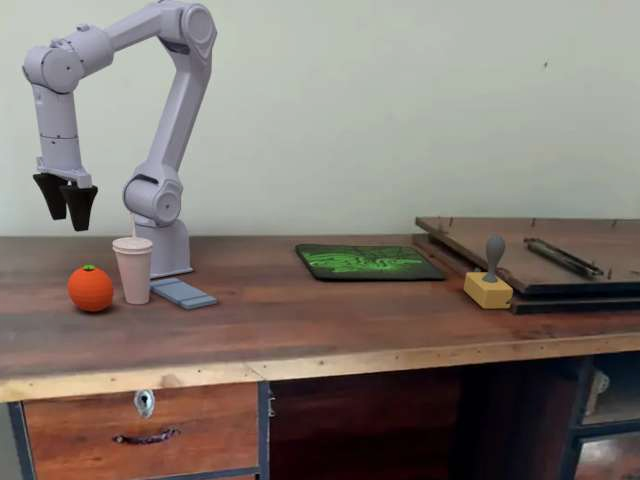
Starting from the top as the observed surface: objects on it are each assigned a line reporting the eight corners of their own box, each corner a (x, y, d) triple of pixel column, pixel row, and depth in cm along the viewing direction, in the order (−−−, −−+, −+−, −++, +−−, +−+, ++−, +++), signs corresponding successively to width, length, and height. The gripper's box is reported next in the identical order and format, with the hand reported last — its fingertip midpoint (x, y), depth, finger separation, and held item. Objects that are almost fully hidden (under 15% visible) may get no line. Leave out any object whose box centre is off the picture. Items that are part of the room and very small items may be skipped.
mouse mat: (412, 248, 172) (413, 243, 171) (449, 280, 154) (450, 275, 154) (292, 248, 163) (292, 243, 163) (316, 282, 146) (317, 276, 146)
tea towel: (175, 281, 140) (174, 277, 140) (217, 303, 133) (217, 298, 132) (145, 287, 136) (145, 282, 136) (187, 309, 129) (186, 305, 129)
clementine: (72, 300, 128) (66, 257, 124) (116, 300, 130) (112, 258, 126) (69, 318, 122) (63, 273, 118) (115, 317, 123) (110, 273, 120)
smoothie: (164, 298, 132) (159, 214, 125) (143, 309, 127) (136, 222, 120) (132, 291, 134) (124, 207, 126) (109, 302, 129) (100, 215, 121)
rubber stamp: (510, 308, 144) (523, 243, 137) (482, 308, 142) (493, 242, 136) (489, 290, 152) (500, 228, 145) (462, 290, 150) (472, 227, 144)
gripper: (12, 128, 122) (26, 216, 130) (56, 145, 114) (68, 239, 121) (55, 126, 126) (66, 212, 134) (100, 143, 118) (109, 233, 126)
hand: (70, 224), depth 128 cm, fingers open, 7 cm apart
